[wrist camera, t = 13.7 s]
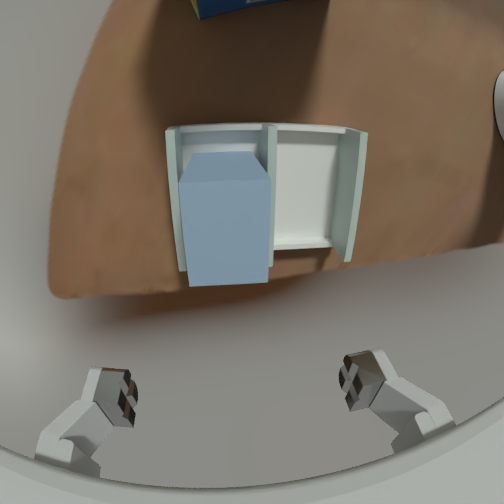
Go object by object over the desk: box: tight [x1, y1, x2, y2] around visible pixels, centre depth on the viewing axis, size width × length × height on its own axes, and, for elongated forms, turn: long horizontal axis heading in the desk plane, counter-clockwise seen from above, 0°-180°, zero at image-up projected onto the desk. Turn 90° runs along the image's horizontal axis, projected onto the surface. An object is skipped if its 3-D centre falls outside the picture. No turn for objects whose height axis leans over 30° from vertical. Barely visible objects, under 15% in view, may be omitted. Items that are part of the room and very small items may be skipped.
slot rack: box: [165, 122, 368, 271], centre depth 29 cm, size 19×14×6 cm
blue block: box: [178, 151, 271, 287], centre depth 25 cm, size 6×8×12 cm
